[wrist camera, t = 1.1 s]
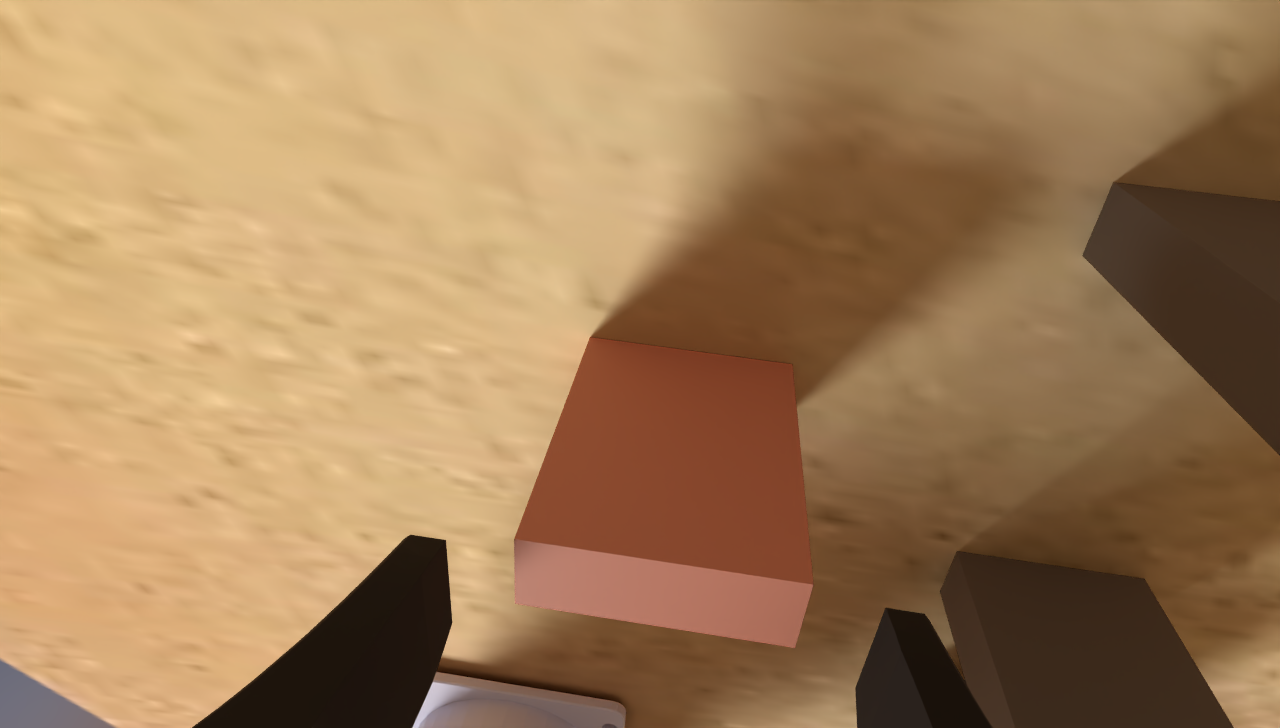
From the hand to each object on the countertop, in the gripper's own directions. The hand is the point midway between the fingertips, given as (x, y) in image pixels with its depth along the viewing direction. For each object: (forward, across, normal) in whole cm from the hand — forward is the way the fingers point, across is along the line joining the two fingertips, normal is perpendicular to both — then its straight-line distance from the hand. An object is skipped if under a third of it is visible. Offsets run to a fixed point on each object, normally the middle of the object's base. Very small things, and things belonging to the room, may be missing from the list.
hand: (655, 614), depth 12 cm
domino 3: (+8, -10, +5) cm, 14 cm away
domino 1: (+8, 0, 0) cm, 8 cm away
